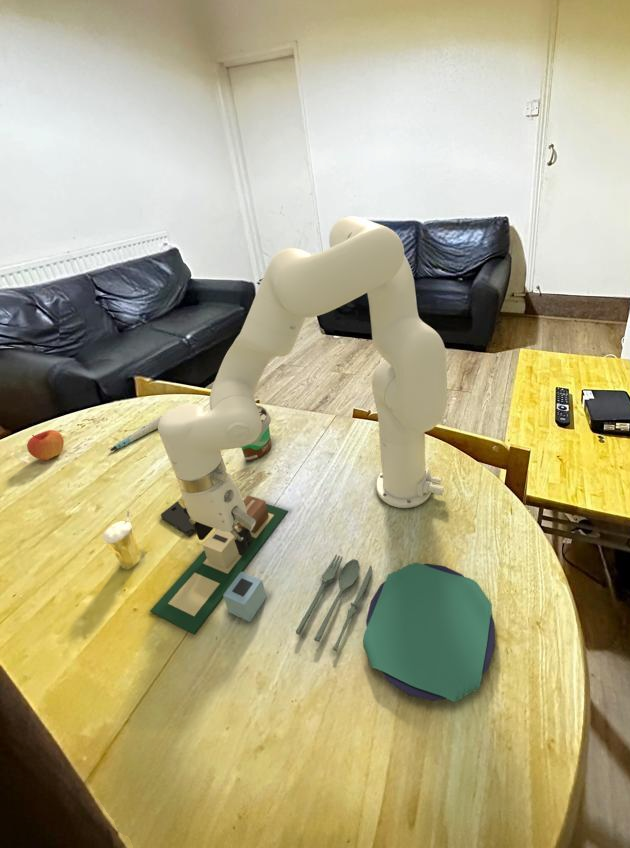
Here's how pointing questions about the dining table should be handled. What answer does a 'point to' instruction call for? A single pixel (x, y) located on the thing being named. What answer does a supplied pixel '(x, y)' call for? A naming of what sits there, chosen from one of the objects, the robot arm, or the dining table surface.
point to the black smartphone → (178, 518)
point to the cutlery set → (421, 628)
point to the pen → (137, 434)
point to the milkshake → (123, 543)
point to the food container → (259, 439)
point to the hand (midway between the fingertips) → (226, 541)
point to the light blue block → (245, 596)
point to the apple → (46, 445)
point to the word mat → (209, 581)
